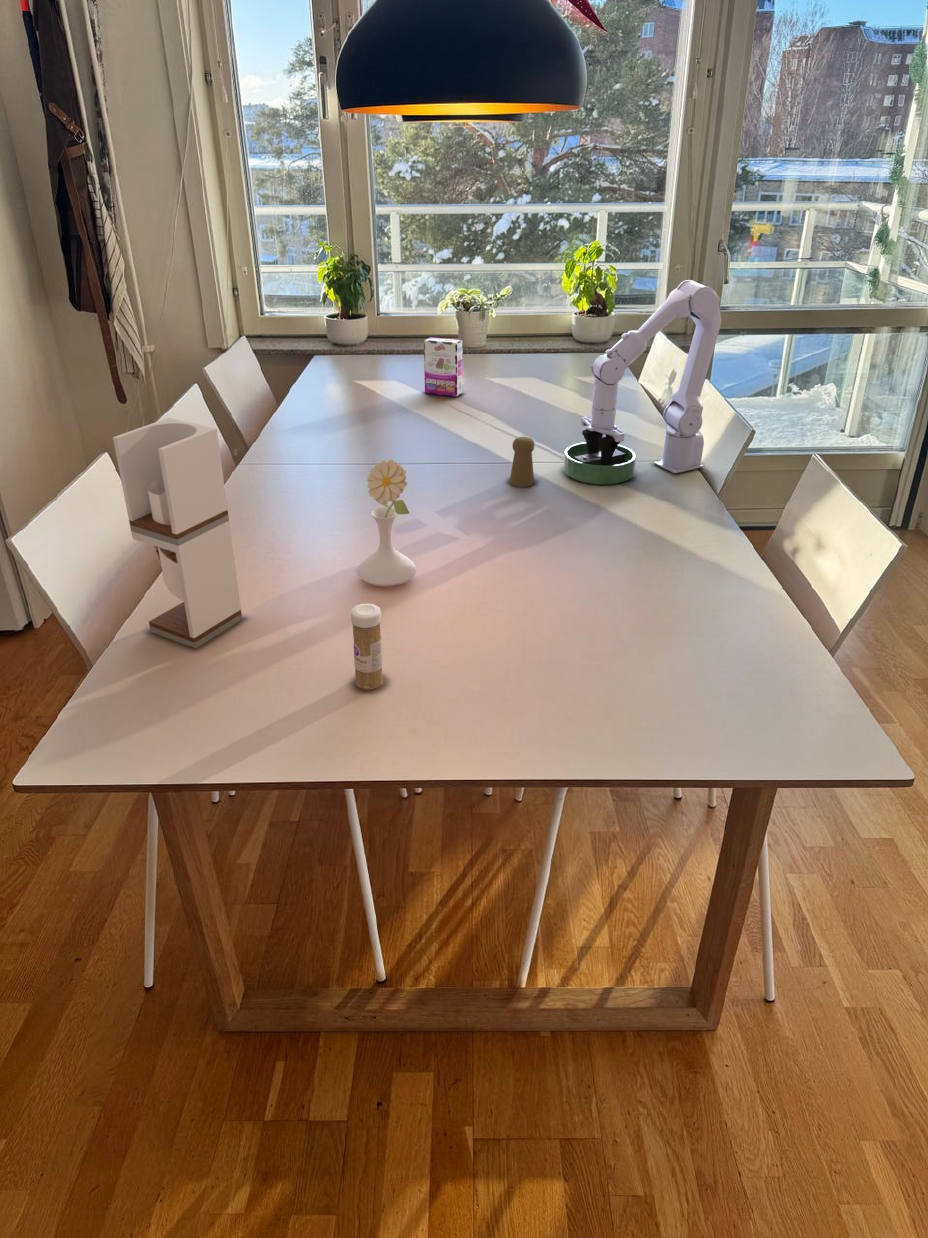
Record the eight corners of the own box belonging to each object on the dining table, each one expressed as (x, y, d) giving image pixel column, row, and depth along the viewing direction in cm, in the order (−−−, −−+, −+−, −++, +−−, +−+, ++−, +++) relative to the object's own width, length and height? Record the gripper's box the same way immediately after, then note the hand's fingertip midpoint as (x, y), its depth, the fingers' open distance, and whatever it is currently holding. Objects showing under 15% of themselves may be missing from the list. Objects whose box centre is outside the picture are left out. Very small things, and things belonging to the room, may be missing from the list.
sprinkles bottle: (349, 683, 143) (344, 610, 136) (369, 671, 146) (365, 599, 139) (369, 694, 140) (365, 620, 134) (389, 682, 143) (386, 608, 137)
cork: (532, 487, 214) (534, 443, 209) (507, 485, 215) (509, 441, 210) (536, 478, 219) (538, 435, 214) (511, 476, 220) (513, 433, 215)
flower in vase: (346, 575, 175) (338, 452, 162) (395, 559, 181) (391, 440, 168) (383, 601, 166) (377, 474, 153) (433, 584, 172) (431, 460, 159)
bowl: (604, 456, 233) (606, 437, 231) (648, 478, 220) (650, 458, 218) (549, 467, 226) (550, 448, 223) (591, 490, 213) (593, 471, 210)
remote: (613, 459, 226) (614, 447, 225) (624, 465, 223) (625, 452, 222) (572, 468, 221) (573, 455, 219) (583, 474, 218) (584, 461, 216)
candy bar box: (463, 393, 281) (463, 339, 273) (456, 397, 277) (457, 343, 269) (430, 389, 285) (430, 336, 276) (423, 393, 281) (423, 339, 272)
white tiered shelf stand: (198, 604, 165) (168, 417, 147) (242, 619, 160) (216, 428, 142) (150, 631, 156) (112, 437, 138) (195, 648, 151) (162, 449, 134)
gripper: (572, 401, 218) (568, 454, 225) (609, 417, 207) (604, 473, 214) (595, 397, 221) (591, 450, 228) (633, 413, 210) (627, 468, 217)
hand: (599, 461), depth 221 cm, fingers closed on remote, 4 cm apart
